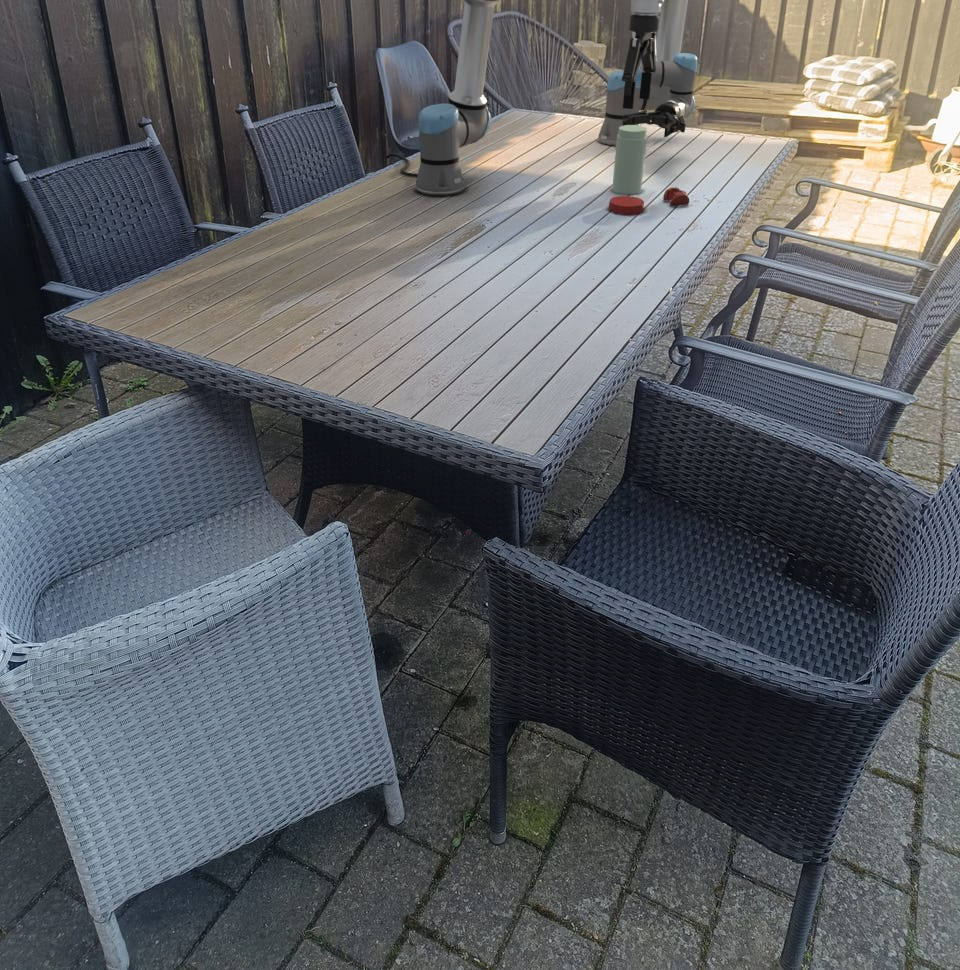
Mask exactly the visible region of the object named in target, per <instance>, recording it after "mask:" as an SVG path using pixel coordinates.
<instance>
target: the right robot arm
mask: <svg viewBox="0 0 960 970" xmlns="http://www.w3.org/2000/svg"><path fill="white" fill-rule="evenodd" d="M631 2H632V0H630V3H631ZM688 3H689V0H664V2H663V4H661V11H660V12H659V16H660V22H659V30H658V31H657V32H656V36H655V55H656V72H651V73H652V82H651V91H650V99H639V97H640V87H641V77H642V72H644V70H643V64H642V59H641V62H640V65H639V68H638V72H637V75H636V78H635V82H636V88H635V98H634V108H633V109H626V108H623V100H624V89H625V81H622V77H623V73H624V69H621V70H617V71H614V72H612V73H611V74H610V75H609V77H608V80H607V87H606V101H605V114H604V120H603V122H602V125H601V127H600V129H599V132H598V135H597V141H598V142H599V143H601V144H603V145H607V146H614V147H616V143H617V135H618V133H619V127H621V126H624V125H638V126H640V125H644V124H647V125H649V126H653V125H655V126H658V127H659V128H660V129H663V130H664V135H663V137H664V138H668V137H669V136H671V135H672V134H675V133H679V132H680V133H683V134H684V133H685V132H686V127H687V126H686V125H687V123H686V121H685V119H687V118H688V117H689V116H690V115H691V114H692V113H693V112H694V110H695V108H696V99H695V96H694V89H695V83H696V77H697V72H698V57H697V55H696V54H693V53H687V52H682V51H681V50H682V43H683V37H684V30H685V24H686V16H687V10H688ZM632 14H633V12H631V11H630V16H631V15H632ZM635 35H636V33H635V32H632V31H631V38H635ZM648 111H650V112H648Z"/></svg>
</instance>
